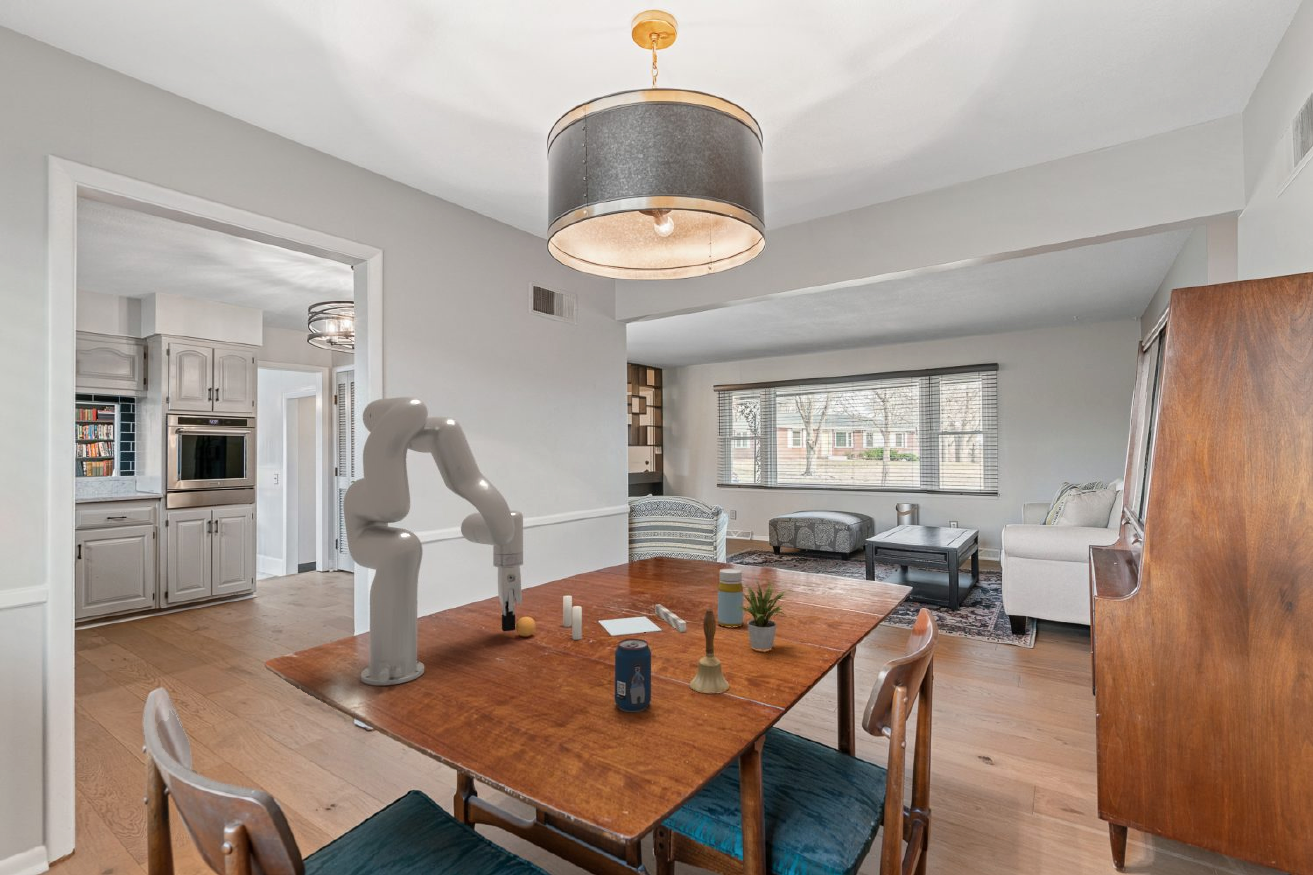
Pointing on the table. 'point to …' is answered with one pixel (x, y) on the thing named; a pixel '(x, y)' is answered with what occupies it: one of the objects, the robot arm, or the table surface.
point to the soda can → (632, 675)
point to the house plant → (762, 617)
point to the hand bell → (709, 662)
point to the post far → (567, 611)
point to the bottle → (730, 598)
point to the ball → (525, 626)
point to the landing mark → (629, 626)
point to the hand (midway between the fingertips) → (508, 629)
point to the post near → (576, 622)
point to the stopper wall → (670, 618)
